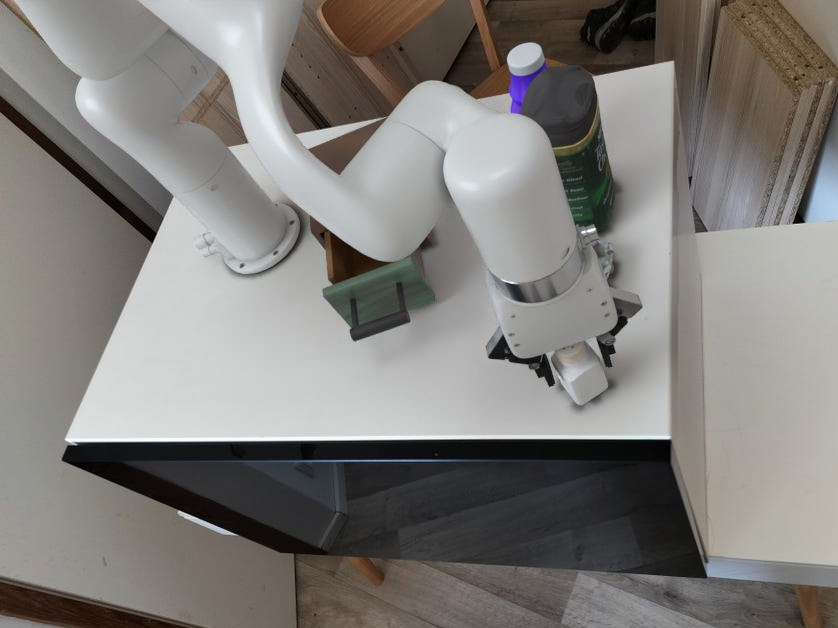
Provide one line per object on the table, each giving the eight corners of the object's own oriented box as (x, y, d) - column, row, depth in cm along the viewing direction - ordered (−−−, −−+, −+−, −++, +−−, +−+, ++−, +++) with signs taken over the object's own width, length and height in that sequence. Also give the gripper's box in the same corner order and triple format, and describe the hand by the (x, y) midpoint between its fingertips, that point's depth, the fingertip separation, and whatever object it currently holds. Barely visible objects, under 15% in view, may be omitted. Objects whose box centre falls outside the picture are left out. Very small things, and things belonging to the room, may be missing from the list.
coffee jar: (610, 239, 81) (582, 120, 66) (547, 239, 84) (506, 125, 69) (622, 178, 85) (598, 52, 70) (561, 180, 88) (525, 60, 73)
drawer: (443, 338, 81) (418, 302, 74) (356, 368, 82) (325, 335, 76) (420, 218, 92) (397, 177, 85) (345, 246, 93) (316, 209, 87)
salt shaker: (560, 383, 74) (539, 339, 66) (590, 362, 74) (573, 316, 66) (580, 409, 72) (561, 367, 64) (611, 388, 72) (596, 343, 64)
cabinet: (432, 245, 90) (403, 196, 82) (346, 276, 92) (310, 231, 84) (417, 166, 98) (389, 115, 90) (338, 197, 100) (305, 149, 92)
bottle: (587, 148, 90) (559, 33, 75) (578, 181, 87) (548, 69, 73) (535, 150, 92) (499, 39, 78) (525, 181, 90) (486, 74, 76)
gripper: (625, 187, 55) (647, 309, 70) (429, 259, 57) (491, 361, 72) (654, 256, 50) (672, 369, 65) (442, 329, 53) (505, 422, 68)
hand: (576, 364), depth 69 cm, fingers open, 5 cm apart
